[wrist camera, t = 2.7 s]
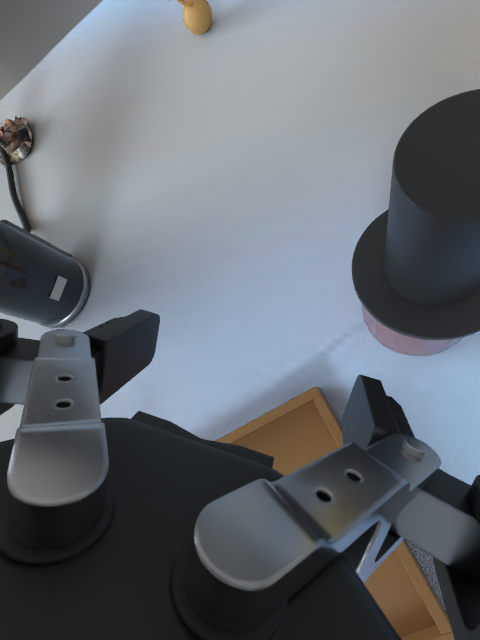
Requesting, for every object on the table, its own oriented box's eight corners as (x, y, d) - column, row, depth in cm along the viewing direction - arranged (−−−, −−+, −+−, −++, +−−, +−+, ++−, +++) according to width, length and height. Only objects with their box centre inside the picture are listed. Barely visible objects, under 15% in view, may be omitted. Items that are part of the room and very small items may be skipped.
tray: (179, 463, 34) (168, 466, 32) (319, 387, 31) (316, 386, 29) (263, 698, 27) (255, 720, 25) (454, 627, 24) (462, 645, 22)
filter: (328, 260, 26) (297, 148, 15) (448, 186, 24) (512, 0, 13) (404, 372, 22) (437, 330, 11) (552, 294, 21) (758, 158, 10)
